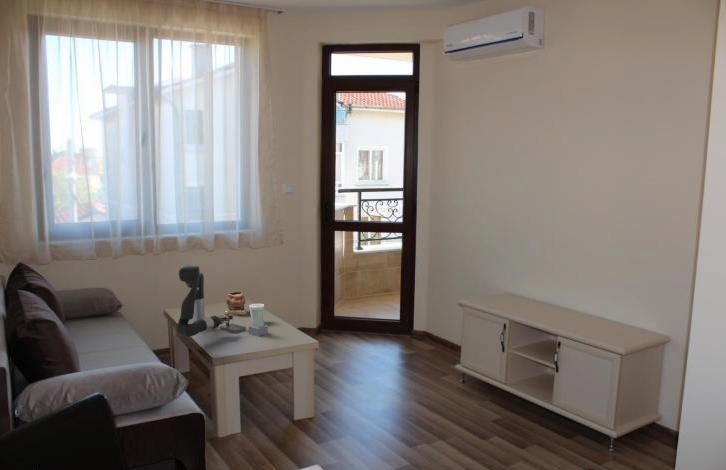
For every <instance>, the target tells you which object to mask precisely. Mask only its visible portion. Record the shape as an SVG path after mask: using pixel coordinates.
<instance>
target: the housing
mask: <svg viewBox="0 0 726 470" xmlns="http://www.w3.org/2000/svg"><path fill="white" fill-rule="evenodd" d="M268 333H269V326H268V325H266V324H264V326H263V327H260V328H256V327H253V324H252V325H249V326H248V335H251V336H256V337H261V336H263V335H266V334H268Z"/></svg>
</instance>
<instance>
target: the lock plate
mask: <svg viewBox="0 0 726 470" xmlns="http://www.w3.org/2000/svg"><path fill="white" fill-rule="evenodd" d="M220 330H221V331H223V332H224V331H225V332H227V333H231V334H237V333H240V332H245V331H246V330H247V326H244V325H241V324H237V323H236V324H235V323H229V325H226V324H224V325H222V326H220Z"/></svg>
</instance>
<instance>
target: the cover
mask: <svg viewBox="0 0 726 470" xmlns="http://www.w3.org/2000/svg"><path fill="white" fill-rule="evenodd" d="M264 309H265V308H264ZM264 309H260V308H256V309H253V310H252V311H253V322H252V325H253V327H256V328H260V327H263V326H264V325H265V323H264V311H265V310H264Z"/></svg>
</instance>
